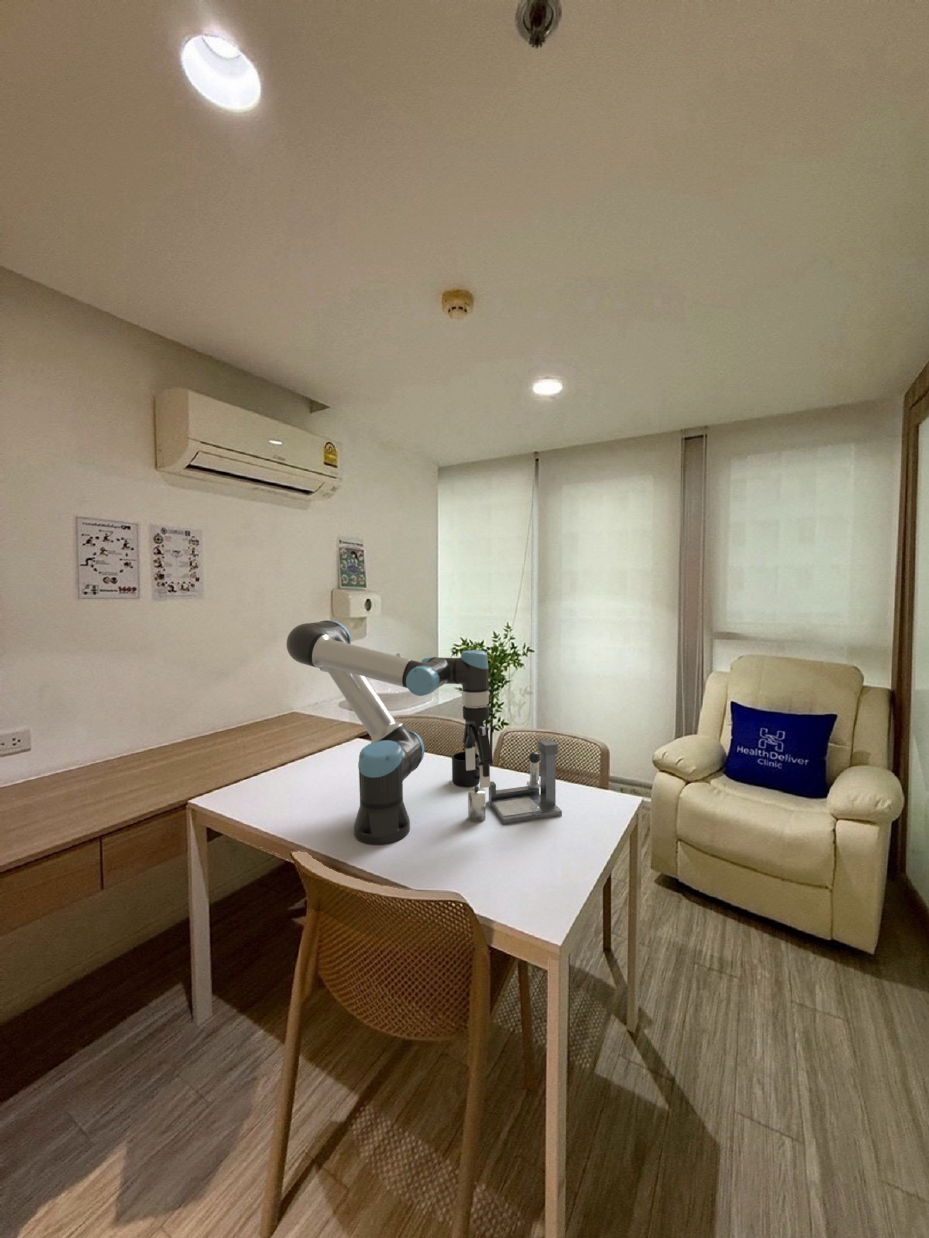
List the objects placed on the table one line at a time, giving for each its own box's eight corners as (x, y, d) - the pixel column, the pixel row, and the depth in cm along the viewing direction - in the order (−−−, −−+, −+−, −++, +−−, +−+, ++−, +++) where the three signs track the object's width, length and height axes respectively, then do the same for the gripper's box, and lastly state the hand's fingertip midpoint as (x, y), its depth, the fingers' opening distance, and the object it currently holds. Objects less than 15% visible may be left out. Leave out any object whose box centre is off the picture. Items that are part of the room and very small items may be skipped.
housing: (471, 823, 136) (470, 790, 135) (466, 815, 141) (465, 783, 140) (487, 820, 137) (487, 788, 137) (482, 813, 142) (482, 781, 141)
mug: (472, 792, 157) (471, 764, 156) (446, 782, 165) (446, 756, 164) (491, 783, 163) (490, 757, 163) (465, 774, 172) (465, 749, 171)
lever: (531, 788, 151) (531, 754, 150) (526, 784, 154) (526, 750, 153) (542, 787, 152) (542, 753, 151) (538, 782, 155) (537, 749, 154)
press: (503, 824, 135) (503, 754, 133) (485, 801, 150) (485, 738, 149) (563, 815, 140) (563, 747, 139) (540, 793, 155) (539, 732, 154)
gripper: (503, 714, 126) (505, 793, 127) (475, 694, 150) (476, 761, 151) (476, 716, 124) (478, 797, 125) (451, 697, 148) (453, 764, 149)
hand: (477, 778), depth 138 cm, fingers open, 13 cm apart
